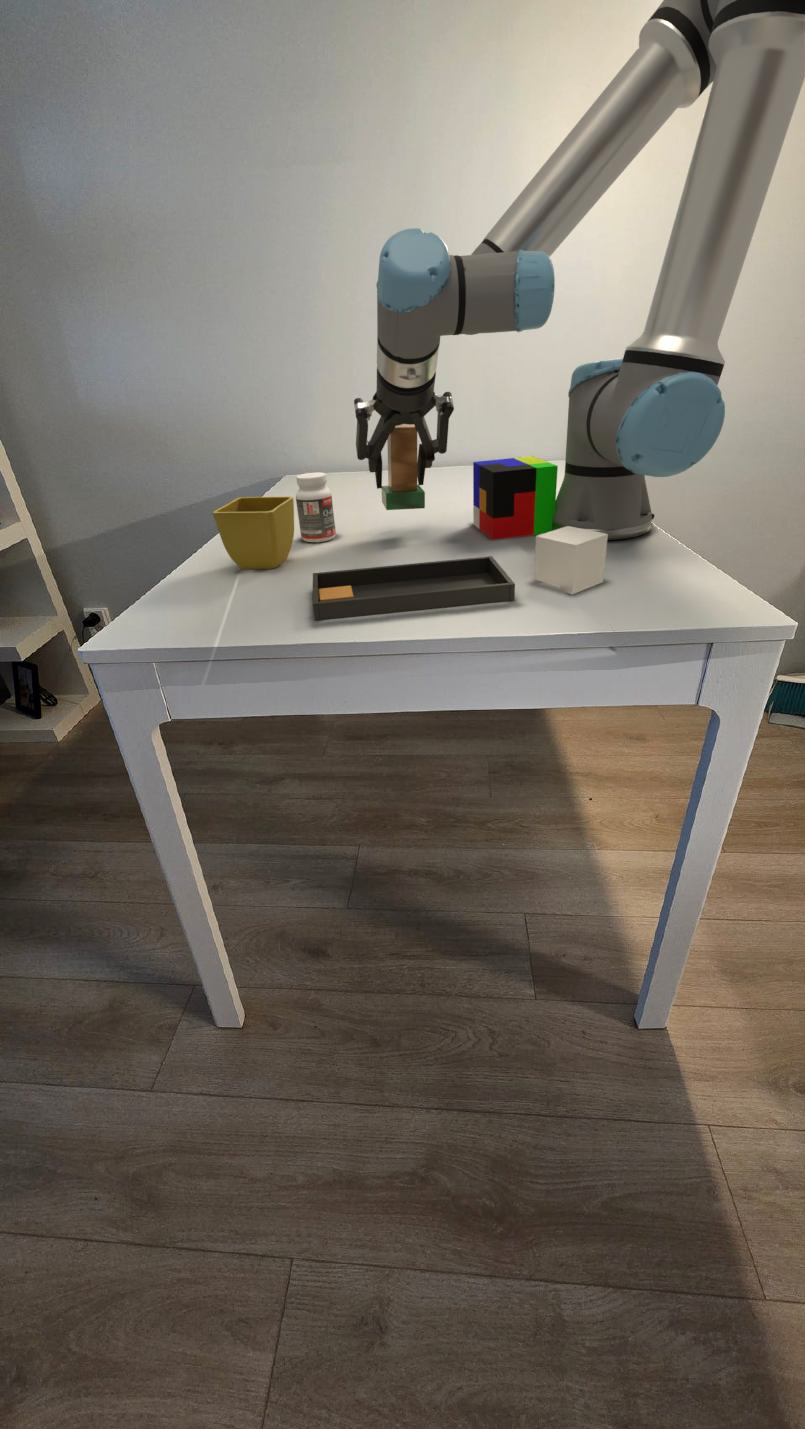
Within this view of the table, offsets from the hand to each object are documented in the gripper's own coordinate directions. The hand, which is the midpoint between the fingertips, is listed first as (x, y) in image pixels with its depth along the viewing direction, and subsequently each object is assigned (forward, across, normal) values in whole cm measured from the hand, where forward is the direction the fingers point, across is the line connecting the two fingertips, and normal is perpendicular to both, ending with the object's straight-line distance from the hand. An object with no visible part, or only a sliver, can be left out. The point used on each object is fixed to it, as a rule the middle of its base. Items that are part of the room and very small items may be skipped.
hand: (399, 479), depth 103 cm
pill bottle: (+5, -14, -6) cm, 16 cm away
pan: (-17, -3, -29) cm, 34 cm away
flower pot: (-4, -22, -16) cm, 27 cm away
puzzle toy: (+2, +18, -9) cm, 20 cm away
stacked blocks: (0, 0, -5) cm, 5 cm away
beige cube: (-17, +17, -29) cm, 38 cm away
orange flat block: (-18, -12, -29) cm, 36 cm away
